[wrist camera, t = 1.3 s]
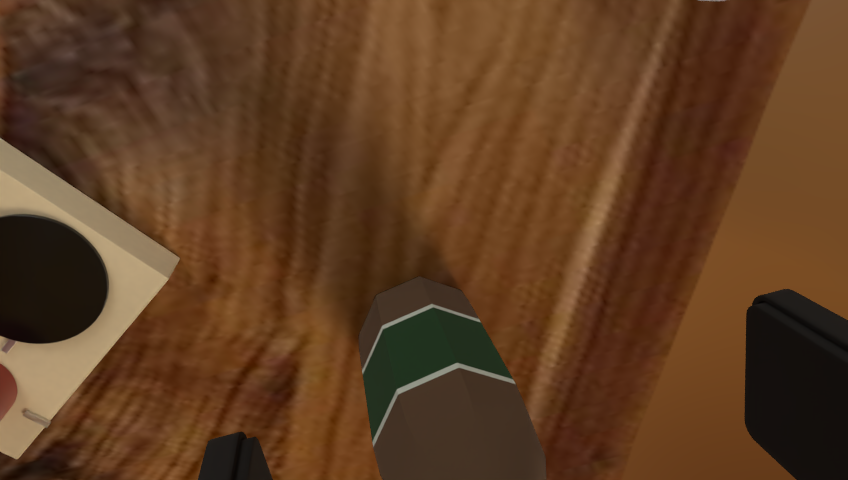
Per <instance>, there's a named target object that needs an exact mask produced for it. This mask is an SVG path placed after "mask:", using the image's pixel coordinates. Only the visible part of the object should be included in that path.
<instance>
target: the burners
mask: <svg viewBox="0 0 848 480" xmlns="http://www.w3.org/2000/svg"><path fill="white" fill-rule="evenodd" d="M108 294H109V278H108V273H107V269H106V266H105V264H104V262H103V260H102V258H101V256H100V254H99V253H98V251H97V250H96V249H95V247H94V246H93V245H92V244H91V243H90V242H89V241H88V240H87V239H86V238H85V237H84V236H83V235H81V234H80V233H79V232H77V231H76V230H75V229H73V228H71V227H69V226H68V225H66V224H64V223H61V222H59V221H57V220H54V219H51V218H47V217H43V216H38V215H31V214H12V215H5V216H1V217H0V336H2V337H5V338H7V339H10V340H14V341H18V342H23V343H30V344H48V343H55V342H60V341H64V340H67V339H70V338H72V337H74V336H77V335H78V334H80V333H82V332H83V331H85V330H86V329H87V328H89V327H90V326H91V325H92V324H93V323H94V322H95V321H96V320H97V318H98V317H99V315H100V314H101V313H102V311H103V309H104V307H105V305H106V302H107V299H108Z"/></svg>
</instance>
